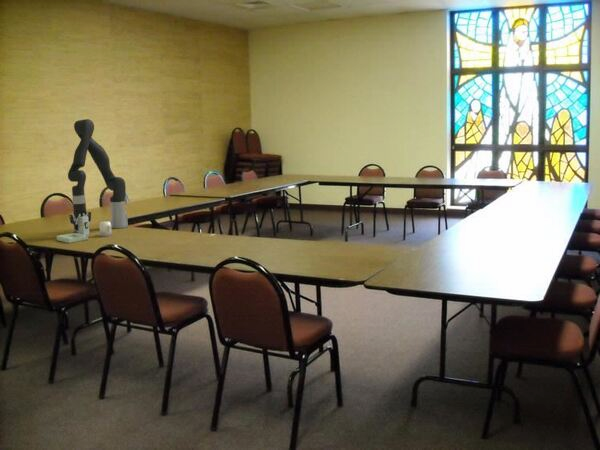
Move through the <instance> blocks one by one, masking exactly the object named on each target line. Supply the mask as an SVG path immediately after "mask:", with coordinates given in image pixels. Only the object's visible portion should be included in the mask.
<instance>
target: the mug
mask: <svg viewBox="0 0 600 450" xmlns="http://www.w3.org/2000/svg"><path fill="white" fill-rule="evenodd" d="M98 227H99V236H100V237H110V236H112V234H113V233H112V221H99V222H98Z"/></svg>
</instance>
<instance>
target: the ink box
mask: <svg viewBox="0 0 600 450" xmlns="http://www.w3.org/2000/svg"><path fill="white" fill-rule="evenodd" d="M73 219H77V218H76V217H75V216H74V217H73ZM77 225H78V230H77V231H76V230H75V229H74V228H73V233H77V234H82V235H87V236H90V234H91V233H90V222H89V221H88V216H87V215H86V216H84V217H79V221H78V223H77Z"/></svg>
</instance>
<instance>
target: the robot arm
mask: <svg viewBox="0 0 600 450" xmlns="http://www.w3.org/2000/svg"><path fill="white" fill-rule="evenodd" d="M73 128H74V131H75V133H76V135H77V136H78V138H79V139H80V141H79V143H78V145H77V147H76V148H75V151H74V154H73V160H72V163H71V166H70V168H69V170H68V171H67V172H68V173H67V178H68V180H69V181H70V182H72V183H77V184H76V185H73V186H72V188H71V193H72V198H71V200H72V209H73V213H71V214H68V218H69V221H70V224H72V225H73V230H74V229H75V230H76V231H77V230H78V225H77V223H78V221H79V217H84V216H88V221H89V223H90V222H91V220H92V212H91V211H87V204H86V203H87V202H86V196H85V195H86V194H85V186H86V180H87V175H86V172H85V171H84V170H82V169H81V168H83V167H85V165H86V160H87V154H88V153H89V155H90V157H91V158H92V161H93V162H94V164H95V165H96V167H97V169H98V171H99V172H100V174H101V177H102V178H103V180H104V183H105V185H106V187H107V189H108V190H110V191H112V196H110V198H109V205H110V216H111V229H123V228H125V229H126V228H128V227H129V224H128V212H127V211H126V201H125V200H126V195H127V194H126V193H127V190H126V188H127V187H126V181H125V179H124V178H123V177H120V176H116V175H115V174H114V173H113V171H112V168H111V163H110V157H109V155H108V154H107V151H106V150H105V148H104V147H103V146H102V145H101V144H99V143H98V142H97V141H96V140H94V138H93V134H94V131H95V124H94V121H93V120H91V119H89V118H88V119H86V118H85V119H79V120H76V121H75V122H74V124H73ZM73 217H76V218H77V219H73Z"/></svg>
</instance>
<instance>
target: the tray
mask: <svg viewBox="0 0 600 450" xmlns="http://www.w3.org/2000/svg"><path fill="white" fill-rule="evenodd" d="M56 240H57V241H59V242H62V243H63V242H64V243H67V244H68V243H69V244H74V243H78V242H84V241H85V240H86V241H89V235H87V236H86V235H82V234H77V233H74V232H73V233H67V234H60V235H56Z"/></svg>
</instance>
